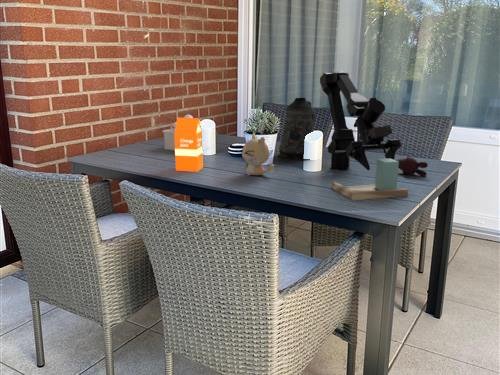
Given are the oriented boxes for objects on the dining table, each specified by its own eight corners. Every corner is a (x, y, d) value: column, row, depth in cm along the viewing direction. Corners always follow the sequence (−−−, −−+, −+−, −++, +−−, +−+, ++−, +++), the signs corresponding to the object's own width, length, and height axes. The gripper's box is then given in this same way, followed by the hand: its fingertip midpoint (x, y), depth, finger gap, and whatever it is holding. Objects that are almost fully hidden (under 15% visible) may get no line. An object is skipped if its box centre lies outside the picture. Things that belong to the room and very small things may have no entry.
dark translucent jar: (277, 159, 213) (278, 100, 206) (280, 150, 231) (281, 95, 224) (316, 160, 211) (318, 100, 204) (316, 151, 229) (319, 96, 222)
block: (374, 188, 168) (377, 159, 165) (388, 187, 169) (390, 158, 166) (382, 192, 163) (385, 162, 160) (396, 191, 164) (398, 161, 162)
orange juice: (197, 171, 192) (195, 119, 186) (175, 170, 193) (173, 118, 188) (203, 167, 199) (202, 116, 193) (182, 165, 201) (180, 116, 195)
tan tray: (331, 189, 169) (332, 181, 168) (382, 184, 174) (383, 177, 173) (352, 201, 155) (353, 194, 154) (407, 196, 160) (408, 189, 159)
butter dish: (216, 147, 239) (215, 113, 234) (192, 153, 224) (191, 118, 220) (187, 143, 248) (186, 111, 243) (163, 149, 233) (161, 115, 229)
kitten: (235, 170, 193) (235, 132, 189) (259, 168, 196) (260, 131, 192) (249, 180, 179) (249, 139, 175) (275, 177, 183) (275, 137, 179)
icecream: (385, 157, 188) (424, 166, 180) (393, 149, 193) (431, 157, 185) (384, 173, 191) (422, 182, 183) (391, 165, 196) (429, 174, 188)
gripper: (352, 117, 165) (366, 157, 158) (401, 115, 170) (417, 154, 163) (339, 136, 175) (352, 175, 168) (387, 134, 180) (401, 171, 173)
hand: (381, 168), depth 168 cm, fingers open, 9 cm apart
